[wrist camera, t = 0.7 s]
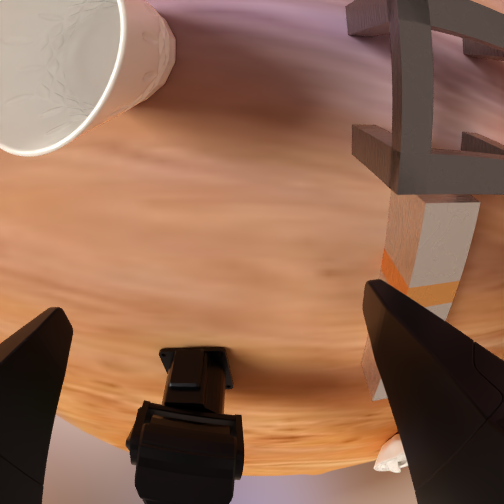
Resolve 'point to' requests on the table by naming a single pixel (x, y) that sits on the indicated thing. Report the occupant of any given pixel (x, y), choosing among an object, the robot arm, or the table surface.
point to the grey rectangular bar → (424, 256)
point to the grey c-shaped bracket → (426, 97)
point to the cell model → (391, 456)
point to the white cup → (75, 67)
